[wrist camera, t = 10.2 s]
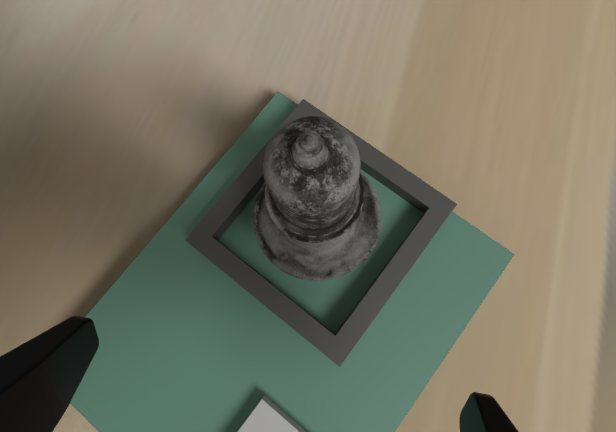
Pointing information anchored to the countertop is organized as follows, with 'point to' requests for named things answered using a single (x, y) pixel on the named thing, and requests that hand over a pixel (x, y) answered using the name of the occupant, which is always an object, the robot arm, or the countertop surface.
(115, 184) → the countertop surface
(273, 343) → the socket board
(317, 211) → the weathered stone pawn
